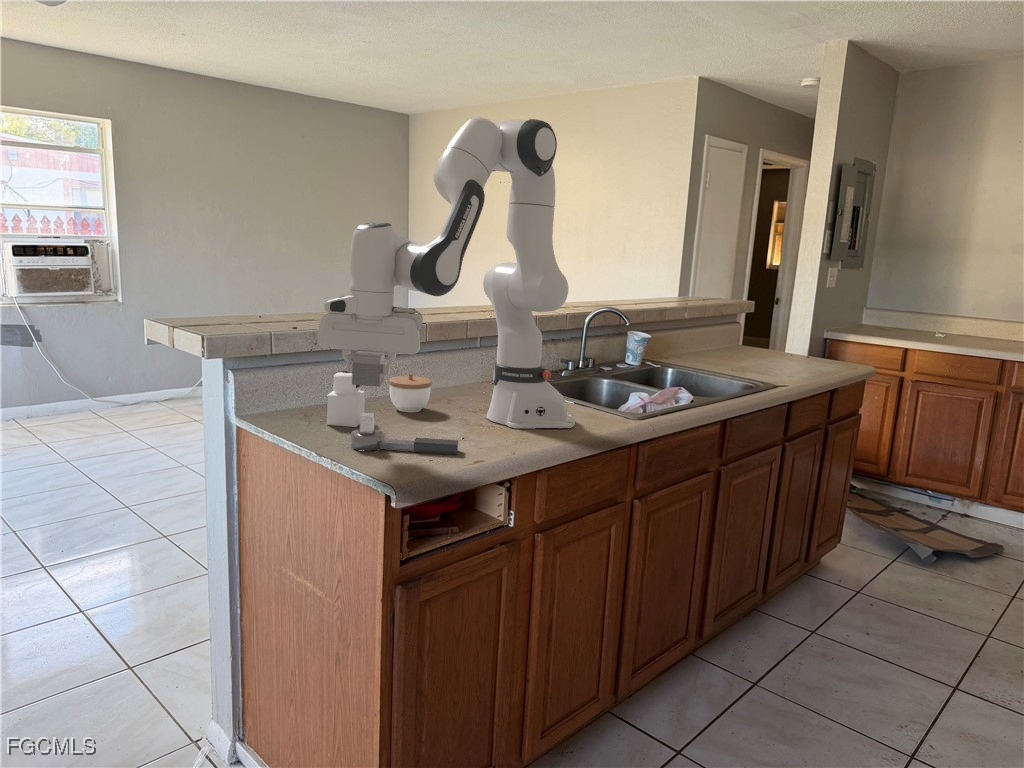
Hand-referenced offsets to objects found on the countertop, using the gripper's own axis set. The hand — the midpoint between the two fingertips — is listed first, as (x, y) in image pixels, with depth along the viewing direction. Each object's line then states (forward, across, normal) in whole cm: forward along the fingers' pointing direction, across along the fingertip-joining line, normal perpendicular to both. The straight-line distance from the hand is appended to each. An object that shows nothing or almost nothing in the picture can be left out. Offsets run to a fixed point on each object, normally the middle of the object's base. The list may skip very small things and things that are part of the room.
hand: (368, 372), depth 140 cm
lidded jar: (+16, -5, -34) cm, 38 cm away
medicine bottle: (+16, +8, -18) cm, 25 cm away
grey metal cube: (+2, 0, 0) cm, 2 cm away
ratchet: (+16, -8, 0) cm, 18 cm away
